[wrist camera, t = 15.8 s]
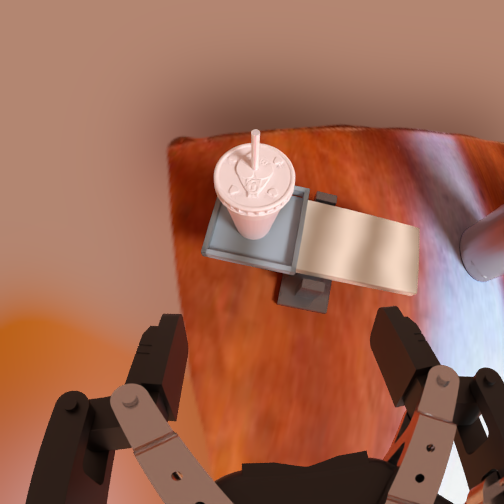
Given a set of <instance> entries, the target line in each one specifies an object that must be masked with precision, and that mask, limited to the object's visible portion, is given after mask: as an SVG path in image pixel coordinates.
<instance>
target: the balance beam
mask: <svg viewBox="0 0 504 504" xmlns="http://www.w3.org/2000/svg"><path fill="white" fill-rule="evenodd" d="M309 191H310V189H308V188H303V187H299V186H294V192H293V194H292V195H296V196H301V197H303V198H300V197H296V196H291V198H290V200H289V201H288V202H287V203H286V204H285V205H284V206H283V208H281V209H280V211H279V213H278V215H277V217H276V219H275V221H274V223H273V224H272V226H271V228H270V230H269V232H268V233H267V234H266V235H265V236H264V237H262V238H260V239H256V240H251V239H247V238H245V237H243V236H242V235H241V234H240V233H239V232H238V230H237V228H236V226H235V224H234V221H233V219H232V217H231V215H230V213H229V211H228V209H227V207H226V206H225V205H223V204H222V202H221V201H220V199H219V198H218V197H217V199H216V202H215V206H214V209H213V212H212V216H211V219H210V222H209V226H208V229H207V233H206V236H205V240H204V243H203V247H202V250H201V253H202V255H203V256H206V257H211V258H215V259H220V260H224V261H229V262H233V263H238V264H243V265H247V266H252V267H256V268H261V269H266V270H271V271H275V272H280V273H285V274H289V275H294V274H295V273H301V274H305V275H310V276H315V277H320V278H325V279H329V280H334V281H339V282H344V283H349V284H354V285H359V286H363V287H368V288H373V289H378V290H383V291H388V292H393V293H398V294H403V295H408V296H412V295H414V294H417V284H418V267H419V228H416V227H413V226H409V225H406V224H402V223H398V222H395V221H391V220H387V219H384V218H380V217H376V216H372V215H368V214H364V213H361V212H357V211H352V210H348V209H344V208H340V207H336V206H332V205H327V204H323V203H319V202H314V201H310V200H308V198H309Z"/></svg>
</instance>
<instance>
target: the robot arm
mask: <svg viewBox="0 0 504 504" xmlns="http://www.w3.org/2000/svg"><path fill="white" fill-rule="evenodd" d="M460 252H461V257H462V261H463V263H464V266H465V268H466V270H467V271H468V272H469V274H470V275H471V276H472V277H473V278H474V279H476V280H477V281H480V282H486V281H489V280H492V279H494V278H497V277H499V276H502V275H504V204H503V205H501V206H500V207H499V208H497V209H496V210H494V211H493V212H492V213H490V214H489V215H487V216H486V217H484V218H483V219H481V220H480V221H478V222H477V223H476V224H474V225H473V226H471V227H470V228H468V229H467V230H466V231H465V232H464V233H463V235H462V237H461V241H460ZM370 345H371V349H372V351H373V353H374V356H375V358H376V361H377V363H378V365H379V368H380V370H381V373H382V375H383V378H384V380H385V383H386V385H387V388H388V390H389V393H390V395H391V398H392V400H393V403H394V406H395V407H399V406H404V405H405V407H406V409H407V410H406V411H405V413H404V415H403V418H402V420H401V423H400V426H399V428H398V431H397V433H396V435H395V438H394V440H393V442H392V445H391V447H390V449H389V451H388V452H387V454H386V456H385V457H384V459H383V460H380V459H376V458H368V455H367V451H362V452H357V453H352V454H346V455H340V456H336V457H334V458H331V459H329V460H326V461H323V462H321V463H318V464H315V465H312V466H309V467H302V466H294V465H287V464H280V463H246V464H242V470H241V471H237V472H234V473H231V474H228V475H226V476H223V477H221V478H220V479H218V480H216V481H215V482H214V481H213V480H212V478H211V477H210V476H209V475H208V474H207V472H206V471H205V470H204V469H203V467H202V466H201V465H200V464H199V462H198V461H197V460H196V459H195V457H194V456H193V455H192V453H191V452H190V451H189V449H188V448H187V447H186V445H185V444H184V443H183V441H182V440H181V439H180V437H179V436H178V435H177V433H174V431H173V430H172V429H171V427H170V426H169V424H168V423H167V422H168V421H176V419H177V413H178V408H179V402H180V396H181V390H182V384H183V379H184V373H185V368H186V362H187V357H188V342H187V337H186V332H185V327H184V321H183V317H182V315H181V314H163V315H162V317H161V320H160V323H159V326H150V327H149V328H148V329H147V330H146V332H144V334H143V335H142V338H141V340H140V343H139V346H138V348H137V351H136V354H135V357H134V360H133V362H132V365H131V368H130V371H129V374H128V377H127V380H126V383H125V385H122V386H120V387H118V388H117V389H116V390H115V391H114V392H113V394H112V395H111V396H109V397H104V398H97V399H89V400H88V398H87V397H86V395H85V394H83V393H82V392H79V391H69V392H67V393H64V394H63V395H62V396H61V397H59V399H58V400H57V402H56V404H55V407H54V410H53V412H52V415H51V418H50V421H49V423H48V426H47V429H46V432H45V435H44V439H43V441H42V445H41V447H40V451H39V454H38V457H37V461H36V465H35V468H34V472H33V475H32V479H31V483H30V487H29V491H28V495H27V499H26V504H107V497H108V490H109V484H110V477H111V471H112V465H113V460H114V455H115V450H118V449H126V448H133V450H134V455H135V457H136V459H137V461H138V462H139V464H140V466H141V467H142V469H143V471H144V472H145V474H146V476H147V477H148V479H149V480H150V482H151V484H152V485H153V487H154V488H155V490H156V491H157V493H158V494H159V496H160V497H161V499H162V500H163V502H164V503H165V504H453V503H452V502H450V501H448V500H447V499H445V498H444V497H442V496H440V495H439V494H437V493H438V490H439V487H440V485H441V482H442V479H443V476H444V473H445V469H446V466H447V463H448V459H449V456H450V452H451V449H452V445H453V441H454V442H455V445H456V448H457V451H458V454H459V457H460V460H461V463H462V467H463V470H464V473H465V476H466V480H467V483H468V487H469V490H470V492H469V494H468V496H467V501H466V502H465V504H504V382H503V381H502V379H501V377H500V376H499V374H498V373H497V372H496V371H494V370H493V369H490V368H481V369H479V370H478V371H477V373H476V375H475V376H474V377H463V376H458V375H457V373H456V372H455V371H454V370H453V369H452V368H450V367H448V366H444V365H440V363H439V361H438V359H437V358H436V356H435V354H434V352H433V351H432V349H431V347H430V346H429V344H428V342H427V341H426V339H425V337H424V336H423V334H421V331H420V329H419V328H418V326H417V324H416V323H414V322H413V321H412V320H411V319H410V318H408V317H404V316H403V315H402V313H401V311H400V310H399V308H398V307H397V306H391V307H381V308H379V309H378V311H377V315H376V318H375V322H374V325H373V329H372V332H371V336H370ZM481 414H482V416H483V418H484V421H485V423H486V425H487V428H488V431H489V435H488V438H487V435H486V433H485V431H484V428H483V426H482V423H481V421H480V419H479V416H480V415H481Z"/></svg>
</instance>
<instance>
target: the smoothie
mask: <svg viewBox="0 0 504 504" xmlns="http://www.w3.org/2000/svg"><path fill="white" fill-rule="evenodd" d="M294 185H295V171H294V168H293V165H292V163H291V162H290V160H289V159H288V158H287V156H286V155H285V154H284V153H282V152H281V151H280V150H278V149H276V148H274V147H272V146H269V145H266V144H261V143H260V131H259V130H253V131H252V132H251V143H248V144H243V145H239V146H236V147H234V148H232V149H231V150H229V151H228V152H226V153H225V154H224V155H223V156H222V157H221V158H220V160H219V161H218V163H217V165H216V167H215V171H214V188H215V191H216V194H217V197H218V198H219V199H220V201H221V202H222V204H223V205H225V206H226V207H227V209H228V211H229V213H230V215H231V217H232V219H233V221H234V224H235V226H236V228H237V230H238V232H239V233H240V234H241V235H242V236H243V237H245V238H247V239H251V240H256V239H260V238H262V237H264V236H265V235H266V234H267V233H268V232H269V230H270V228H271V226H272V224H273V223H274V221H275V219H276V217H277V215H278V213H279V211H280V209H281V208H283V206H284V205H285V204H286V203H287V202H288V201H289V200H290V198H291V196H292V194H293V192H294Z"/></svg>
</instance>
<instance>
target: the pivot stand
mask: <svg viewBox="0 0 504 504" xmlns="http://www.w3.org/2000/svg"><path fill="white" fill-rule="evenodd" d="M313 201H314V202H319V203H323V204H327V205H332V206H335V205H336V201H337V196H336V195H331V194H327V193H323V192H319V191H317V193H316V196H315V198H314V200H313ZM331 282H332V280H329V279H325V278H320V277H315V276H310V275H305V274H301V273H295V274H294V275H289V274H285V273H283V276H282V281H281V286H280V291H279V296H278V301H277V304H278V305H283V306H287V307H292V308H297V309H302V310H307V311H312V312H318V313H323V314H325V313H326V312H327V306H328V300H329V294H330V288H331Z"/></svg>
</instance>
